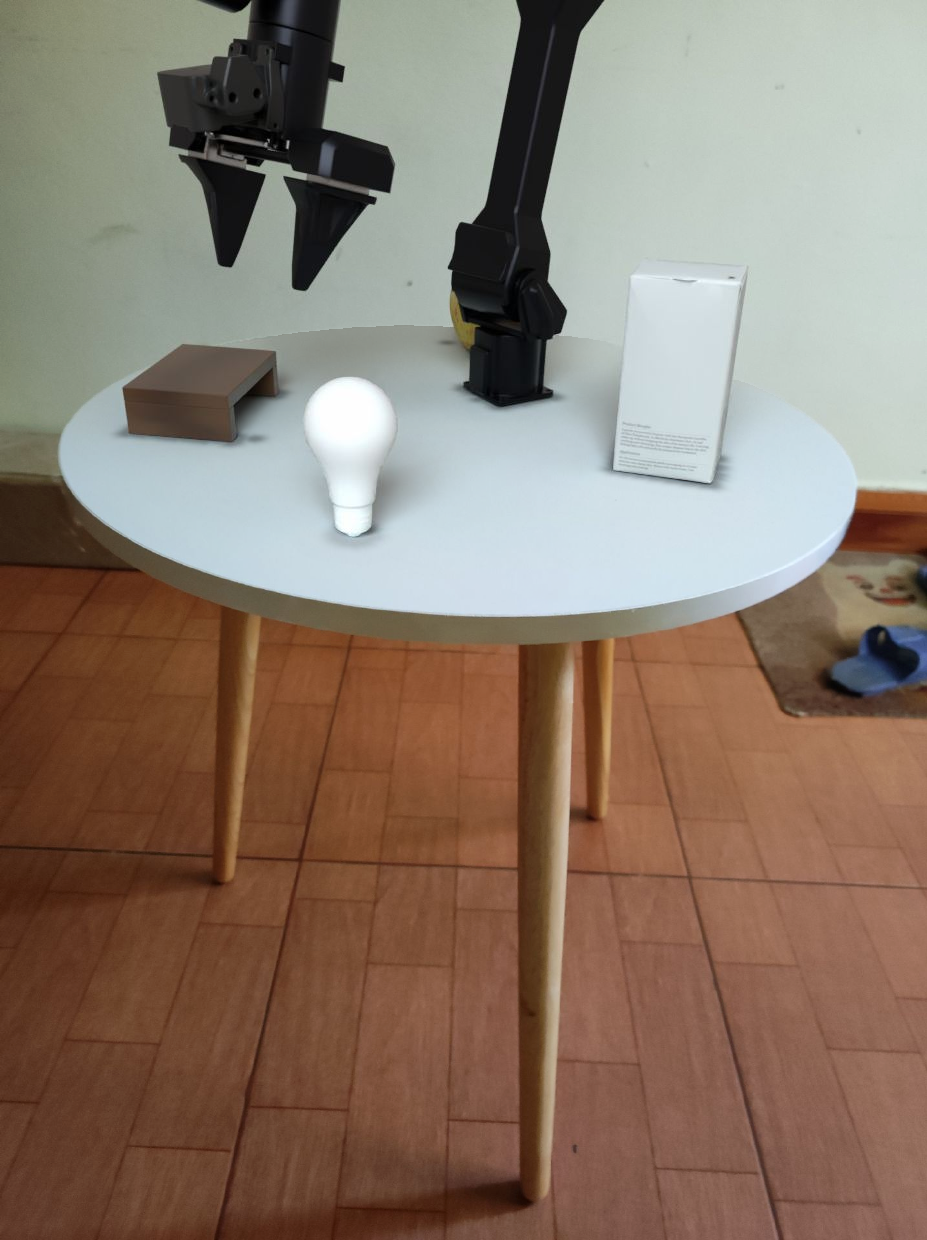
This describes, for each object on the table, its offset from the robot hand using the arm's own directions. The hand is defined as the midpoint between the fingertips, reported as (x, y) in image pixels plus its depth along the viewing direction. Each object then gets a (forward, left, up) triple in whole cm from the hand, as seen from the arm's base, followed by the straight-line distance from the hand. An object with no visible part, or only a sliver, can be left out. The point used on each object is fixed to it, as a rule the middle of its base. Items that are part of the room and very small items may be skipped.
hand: (260, 277), depth 72 cm
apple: (-33, -18, -14) cm, 40 cm away
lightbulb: (0, +14, -14) cm, 20 cm away
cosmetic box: (-28, +15, -14) cm, 35 cm away
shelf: (0, -14, -14) cm, 20 cm away
